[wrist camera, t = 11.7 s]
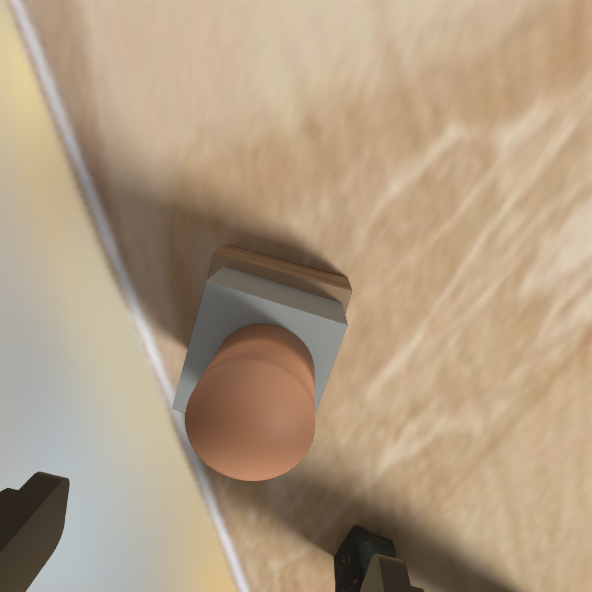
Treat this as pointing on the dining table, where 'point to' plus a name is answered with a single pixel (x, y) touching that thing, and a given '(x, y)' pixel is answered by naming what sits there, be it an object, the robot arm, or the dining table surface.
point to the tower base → (283, 273)
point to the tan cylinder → (254, 404)
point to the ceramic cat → (358, 558)
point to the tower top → (260, 309)
